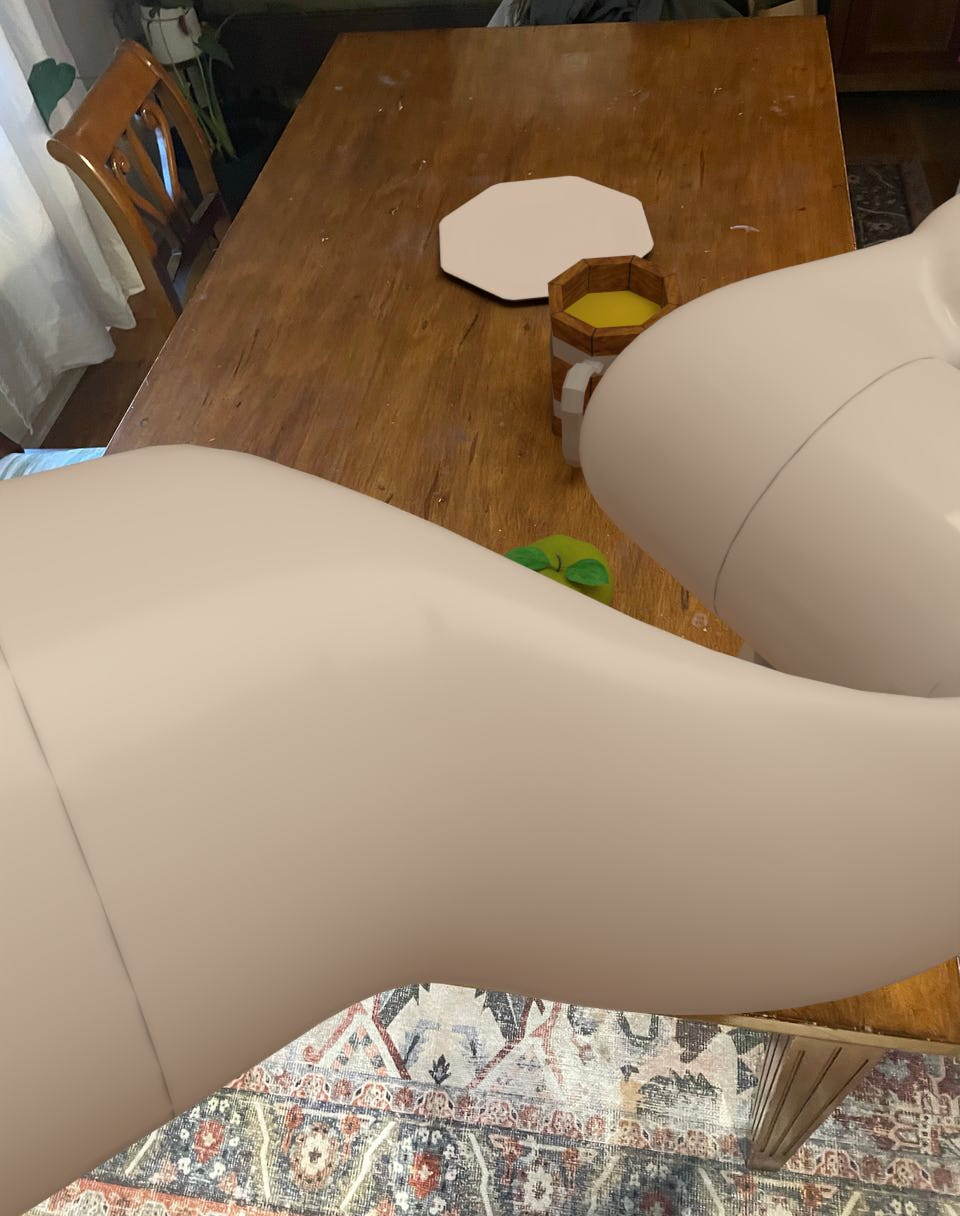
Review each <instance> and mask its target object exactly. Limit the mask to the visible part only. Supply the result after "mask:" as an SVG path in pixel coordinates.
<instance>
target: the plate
mask: <svg viewBox="0 0 960 1216" xmlns="http://www.w3.org/2000/svg"><path fill="white" fill-rule="evenodd" d="M438 228H439V229H438V230H439V255H440V257H439V258H440V268H441V269H442V271H443V272H444V273H445V274H447V275H449V276H451V277H453V278H456V279H458V280H460V281H463V282H464V283H466V284H468V285H471V286H472V287H475V288H477V289H479V290H482V291H484V292H485V293H488V294H490V295H492V296H494V297H496V298H498V299H501V300H502V301H507V302H508V301H509V302H523V301H531V300H541V299H549V295H548V282H550V281H551V280H553V279H554V278H555V277H557V276H558V275H560V274H561V273H563V272H564V271H566V270H567V269H568V268H570V267H571V266H573V265H574V264H576V263H577V262H579V261H580V260H581V259H586V258H599V257H613V256H626V255H636V256H638V257H640V258H643V259H644V257H646V256H647V255H648V254H650V253H651V252H652V251H653V248H654V246H655V243H654V240H653V236H652V233H651V230H650V227H649V223H648V221H647V217H646V213H645V210H644V207H643V204H642V201H640V200H639V199H638V198H636V197H634V196H632V195H629V194H626V193H624V192H621V191H618V190H616V189H613V188H610V187H607V186H605V185H601V184H599V183H597V182H593V181H591V180H588V179H586V178H583V177H580V176H576V175H575V176H574V175H563V176H554V177H544V178H534V179H527V180H518V181H507V182H499V183H496V184H493V185H490V186H489V187H488V188H486V189H484V190H483V191H482V192H480V193H479V194H477V195H476V196H474V197H473V198H471V199H470V200H468V201H467V202H465V203H463V204H462V205H461V206H458V208H456V209H455V210H453V211H452V212H450V213H448V215H446V216H444V217H443V218H441V220H440V222H439V224H438Z"/></svg>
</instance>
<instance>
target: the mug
mask: <svg viewBox="0 0 960 1216" xmlns="http://www.w3.org/2000/svg"><path fill="white" fill-rule="evenodd" d="M548 295H549V298H548V307H549V318H550V331H549V332H550V333H549V344H548V346H549V347H548V348H549V363H550V365H549V366H550V378H551V391H550V399H549V406H550V407H549V408H550V420H551V421H550V422H551V433H552V435H554V436H556V437H557V438H559V439H560V440H561V447H562V448H561V449H562V451H561V453H562V456H563V459H564V461H565V463H566V465H568V466H570V467H573V468H582V467H581V463H580V453H579V446H580V429H581V425H582V422H583V418H584V414H585V411H586V407H587V405H588V403H589V400H590V398H591V396H592V394H593V392H594V390H595V388H596V386H597V385H598V383H599V381H600V380H601V378H602V377H603V375H604V374H605V372H606V371H607V369H608V368H609V366H610V365H611V364H612V363H613V362H614V360H615V359H616V358H617V357H618V356H619V354H620V353H621V352H622V351H623V350H624V349H625V348H626V347H627V346H628V345H629V344H630V343H631V342H632V341H634V340H635V339H636V338H637V337H638V336H639V335H640V334H641V333H642V332H644V331H645V330H646V329H648V328H649V327H650V326H652V325H653V324H654V323H656V322H657V321H658V320H660V319H661V318H662V317H664V316H666V315H667V314H669V313H670V312H672V311H674V310H675V309H677V308H678V307H680V306H682V305H684V302H683V297H682V293H681V288H680V285H679V279H678V275H677V273H676V272H674V271H671V270H669V269H667V268H665V267H663V266H661V265H658V264H656V263H653V262H652V261H649V260H647V259H645V258H644V257H643V258H640V257H638V256H636V255H626V256H613V257H599V258H586V259H581V260H580V261H579V262H577V263H576V264H574V265H573V266H571V267H570V268H568V269H567V270H566V271H564V272H563V273H561V274H560V275H558V276H557V277H555V278H554V279H553V280H551V281H550V282H548Z"/></svg>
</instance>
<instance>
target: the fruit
mask: <svg viewBox="0 0 960 1216" xmlns="http://www.w3.org/2000/svg"><path fill="white" fill-rule="evenodd" d="M503 556H504V557H506V558H508V559H510V560H512V561H514V562H516V563H518V564H521V565H523V566H525V567H527V568H529V569H531V570H533V571H535V572H537V573H539V574H542V575H544V576H546V577H548V578H550V579H552V580H554V581H556V582H558V583H561V584H563V585H565V586H567V587H569V588H571V589H573V590H575V591H577V592H579V593H582V594H584V595H586V596H588V597H590V598H592V599H594V600H596V601H598V602H601V603H603V604H605V605H607V606H609V607H611V603H612V600H613V598H614V592H615V580H614V574H613V569H612V568H611V565H610V564H609V561H608V559H607V557H606V556H605V555H604V553H603V552H602V551H601V550H600V549H599V548H598V547H596V546H595V545H594V544H592V543H589V542H587V541H584V540H581V539H577V538H574V537H572V536H569V535H566V534H559V533H557V534H552V535H548V536H546V537H544V538H541V539H539V540H537V541H533V542H532V543H530V544H528V545H525V546H519V547H515V548H513V549H510V550H509V551H507V552H505V553H504V554H503Z"/></svg>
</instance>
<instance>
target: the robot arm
mask: <svg viewBox="0 0 960 1216" xmlns="http://www.w3.org/2000/svg"><path fill="white" fill-rule="evenodd" d="M579 453H580V463H581V467H580V468H581V471H582V473H583V478H584V480H585V483H586V485H587V487H588V489H589V491H590V493H591V495H592V497H593V499H594V500H595V502H596V504H597V505H598V506H599V508H600V509H601V511H602V512H603V513H604V514H605V515H606V517H607V518H608V519H609V520H610V521H611V522H612V523H613V524H614V525H615V526H616V528H617V529H619V531H620V532H621V533H622V534H624V535H625V536H626V537H627V538H628V539H629V540H630V541H631V542H632V543H634V544H635V545H636V546H637V547H638V548H639V549H640V550H641V551H643V553H645V554H646V555H647V556H648V557H649V558H650V559H651V560H652V561H654V562H655V563H656V564H657V565H658V566H659V567H660V568H661V569H663V570H664V571H665V572H666V573H667V574H668V575H669V576H670V577H671V578H672V579H674V580H675V581H676V582H677V583H678V584H679V585H680V586H681V587H682V588H684V589H685V590H686V591H687V592H688V593H690V594H691V596H692V597H694V598H695V599H696V600H697V601H698V602H699V603H700V604H702V606H704V607H705V608H706V609H707V610H708V611H709V612H710V613H712V615H714V616H715V617H716V618H717V619H718V620H719V621H721V622H722V623H723V624H724V625H725V626H726V627H728V628H729V629H730V630H732V632H733V633H735V634H736V635H737V636H738V637H739V638H740V639H741V640H743V643H742V644H741V646H740V649H739V651H738V653H737V656H732V655H729V654H726V653H723V652H720V651H718V650H714V649H711V648H708V647H706V646H704V645H700V644H698V643H696V642H693V641H691V640H688V639H686V638H683V637H681V636H679V635H676V634H674V633H671V632H669V631H667V630H664V629H662V628H659V627H656V626H654V625H652V624H649V623H646V622H644V621H642V620H639V619H637V618H634V617H632V616H630V615H628V614H626V613H624V612H621V611H620V610H617V609H615V608H613V607H611V606H607V605H605V604H603V603H601V602H598V601H596V600H594V599H592V598H590V597H588V596H586V595H584V594H582V593H579V592H577V591H575V590H573V589H571V588H569V587H567V586H565V585H563V584H561V583H558V582H556V581H554V580H552V579H550V578H548V577H546V576H544V575H542V574H539V573H537V572H535V571H533V570H531V569H529V568H527V567H525V566H523V565H521V564H518V563H516V562H514V561H512V560H510V559H508V558H506V557H504V555H502V554H500V553H498V552H495V551H493V550H492V549H489V548H487V547H485V546H482V545H481V544H478V543H477V542H474V541H473V540H471V539H469V538H466V537H464V536H462V535H460V534H458V533H456V532H453V531H452V530H450V529H448V528H445V527H443V526H441V525H440V524H436V523H434V522H432V521H429V520H427V519H424V518H423V517H420V516H418V515H415V514H412V513H410V512H409V511H406V510H403V509H401V508H399V507H397V506H394V505H391V504H389V503H387V502H384V501H382V500H380V499H378V498H375V497H372V496H370V495H368V494H364V493H362V492H359V491H357V490H354V489H352V488H349V487H347V486H344V485H341V484H339V483H336V482H333V481H332V480H331V481H330V480H328V479H325V478H324V477H323V478H322V477H320V476H318V475H314V474H311V473H308V472H305V471H302V470H299V469H295V468H292V467H290V466H287V465H284V464H282V463H279V462H276V461H273V460H270V459H268V458H266V457H265V458H264V457H261V456H258V455H254V454H252V453H248V452H242V451H237V450H232V449H223V448H217V447H216V448H214V447H208V446H204V445H203V446H202V445H197V444H191V443H181V444H180V443H179V444H178V443H177V444H161V445H149V446H145V447H140V448H135V449H131V450H126V451H122V452H116V453H113V454H108V455H104V456H100V457H95V458H91V459H88V460H83V461H79V462H75V463H72V464H67V465H63V466H59V467H54V468H51V469H47V470H42V471H38V472H33V473H29V474H24V475H19V476H15V477H10V478H5V479H1V480H0V1216H22V1215H24V1214H26V1213H28V1212H29V1211H31V1210H32V1209H34V1208H35V1207H37V1206H38V1205H41V1204H42V1203H43V1202H45V1201H47V1200H48V1199H50V1198H51V1197H53V1196H55V1195H56V1194H57V1193H59V1192H61V1191H62V1190H64V1189H65V1188H67V1187H68V1186H70V1185H71V1184H73V1183H76V1182H77V1181H78V1180H80V1179H82V1178H83V1177H85V1176H86V1175H87V1174H89V1173H91V1172H92V1171H94V1170H96V1169H98V1167H100V1166H102V1165H103V1164H105V1163H107V1162H108V1161H110V1160H111V1159H113V1158H114V1157H116V1156H118V1155H119V1154H121V1153H122V1152H124V1151H126V1150H127V1149H129V1148H130V1147H132V1146H133V1145H135V1144H137V1143H139V1141H141V1140H143V1139H144V1138H146V1137H147V1136H149V1135H151V1134H153V1133H154V1132H155V1131H157V1130H159V1129H160V1128H162V1127H163V1126H165V1125H167V1124H168V1123H170V1122H171V1121H173V1120H175V1119H177V1118H178V1117H180V1116H181V1115H183V1114H184V1113H186V1112H187V1111H189V1110H191V1109H192V1108H193V1107H195V1106H196V1105H198V1104H200V1103H202V1102H203V1101H204V1100H206V1099H208V1098H209V1097H210V1096H212V1095H213V1094H215V1093H216V1092H218V1091H220V1090H221V1089H223V1088H224V1087H226V1086H227V1085H229V1084H230V1083H231V1082H233V1081H235V1080H236V1079H238V1078H240V1077H241V1076H242V1075H244V1074H246V1073H247V1072H249V1071H250V1070H252V1069H253V1068H255V1067H256V1066H258V1065H259V1064H261V1063H263V1062H264V1061H265V1060H267V1059H269V1058H271V1056H273V1055H274V1054H276V1053H277V1052H279V1051H280V1050H282V1049H283V1048H285V1047H287V1046H288V1045H290V1044H292V1043H293V1042H295V1041H296V1040H297V1039H299V1038H300V1037H302V1036H304V1035H305V1034H307V1033H308V1032H309V1031H311V1030H313V1029H315V1027H317V1026H319V1025H320V1024H322V1023H323V1022H326V1021H327V1020H329V1019H331V1018H332V1017H334V1016H336V1015H338V1014H340V1013H342V1012H343V1011H345V1010H347V1009H349V1008H350V1007H352V1006H355V1005H356V1004H358V1003H361V1002H363V1001H365V1000H368V999H370V998H373V997H374V996H377V995H378V994H382V993H384V992H389V991H394V990H396V989H400V988H403V987H407V986H411V985H423V984H424V985H425V984H453V985H463V986H468V987H474V988H480V989H486V990H492V991H496V992H502V993H506V994H512V995H516V996H522V997H527V998H531V999H537V1000H543V1001H547V1002H553V1003H560V1004H566V1005H570V1006H571V1005H572V1006H577V1007H584V1008H591V1009H599V1010H608V1011H616V1012H625V1013H633V1014H635V1013H637V1014H654V1015H655V1014H656V1015H671V1016H672V1015H674V1016H690V1015H691V1016H701V1015H704V1016H705V1015H707V1016H708V1015H739V1014H749V1013H759V1012H770V1011H781V1010H782V1011H783V1010H790V1009H797V1008H803V1007H809V1006H813V1005H817V1004H823V1003H828V1002H829V1003H830V1002H834V1001H840V1000H845V999H849V998H853V997H857V996H860V995H863V994H866V993H869V992H872V991H876V990H878V989H882V988H885V987H888V986H892V985H895V984H897V983H900V982H903V981H907V980H909V979H912V978H914V977H916V976H919V975H921V974H923V973H925V972H927V971H929V970H932V969H934V968H936V967H937V966H939V965H942V964H945V962H947V961H950V960H952V959H954V958H956V957H958V956H960V192H959V193H958V194H956V195H954V196H952V197H951V198H949V199H948V200H947V201H945V202H943V203H942V204H941V205H939V206H938V207H937V208H935V209H934V210H932V211H931V212H930V213H929V214H928V215H927V216H926V217H925V218H924V219H923V220H922V221H921V222H920V224H918V225H917V227H916V228H915V229H914V230H913V231H912V232H911V233H910V234H906V235H903V236H901V237H897V238H894V239H890V240H887V241H884V242H881V243H878V244H874V245H871V246H868V247H864V248H860V249H856V250H852V251H848V252H845V253H840V254H837V255H832V256H829V257H825V258H824V257H823V258H821V259H817V260H813V261H809V262H808V261H807V262H804V263H801V264H796V265H792V266H791V265H790V266H787V267H784V268H780V269H776V270H772V271H768V272H765V273H761V274H758V275H754V276H751V277H748V278H745V279H741V280H738V281H735V282H732V283H729V284H726V285H724V286H722V287H718V288H716V289H714V290H713V289H712V291H709V292H708V293H705V294H702V295H700V296H698V297H697V298H695V299H692V300H689V302H686V303H685V304H684V303H683V305H682V306H680V307H678V308H677V309H675V310H674V311H672V312H670V313H669V314H667V315H666V316H664V317H662V318H661V319H660V320H658V321H657V322H656V323H654V324H653V325H652V326H650V327H649V328H648V329H646V330H645V331H644V332H642V333H641V334H640V335H639V336H638V337H637V338H636V339H635V340H634V341H632V342H631V343H630V344H629V345H628V346H627V347H626V348H625V349H624V350H623V351H622V352H621V353H620V354H619V356H618V357H617V358H616V359H615V360H614V362H613V363H612V364H611V365H610V366H609V368H608V369H607V371H606V372H605V374H604V375H603V377H602V378H601V380H600V381H599V383H598V385H597V386H596V388H595V390H594V392H593V394H592V396H591V398H590V400H589V403H588V405H587V407H586V411H585V414H584V418H583V422H582V425H581V429H580V446H579Z"/></svg>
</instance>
